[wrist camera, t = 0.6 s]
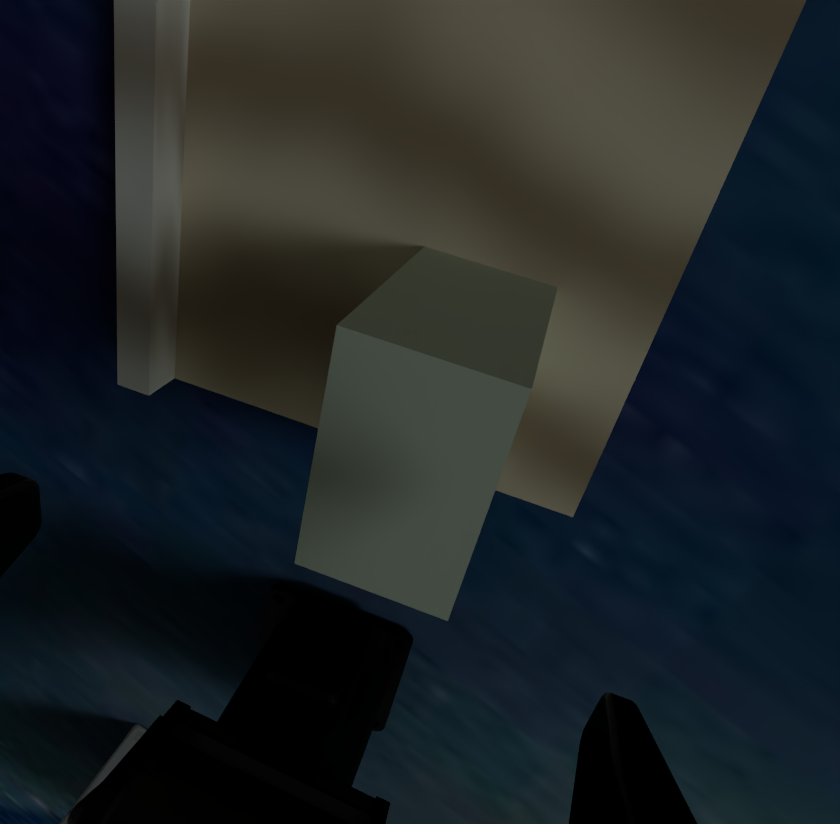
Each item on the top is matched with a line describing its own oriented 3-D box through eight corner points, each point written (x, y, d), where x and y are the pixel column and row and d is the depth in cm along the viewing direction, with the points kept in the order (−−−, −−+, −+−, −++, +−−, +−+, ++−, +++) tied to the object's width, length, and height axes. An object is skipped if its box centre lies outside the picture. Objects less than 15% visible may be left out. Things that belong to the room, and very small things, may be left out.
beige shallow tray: (574, 500, 22) (570, 544, 20) (156, 355, 24) (112, 382, 22) (899, -230, 13) (956, -290, 11) (174, -375, 15) (99, -453, 13)
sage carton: (557, 287, 18) (532, 389, 12) (492, 473, 22) (446, 625, 16) (424, 246, 19) (336, 325, 13) (380, 434, 22) (293, 567, 16)
